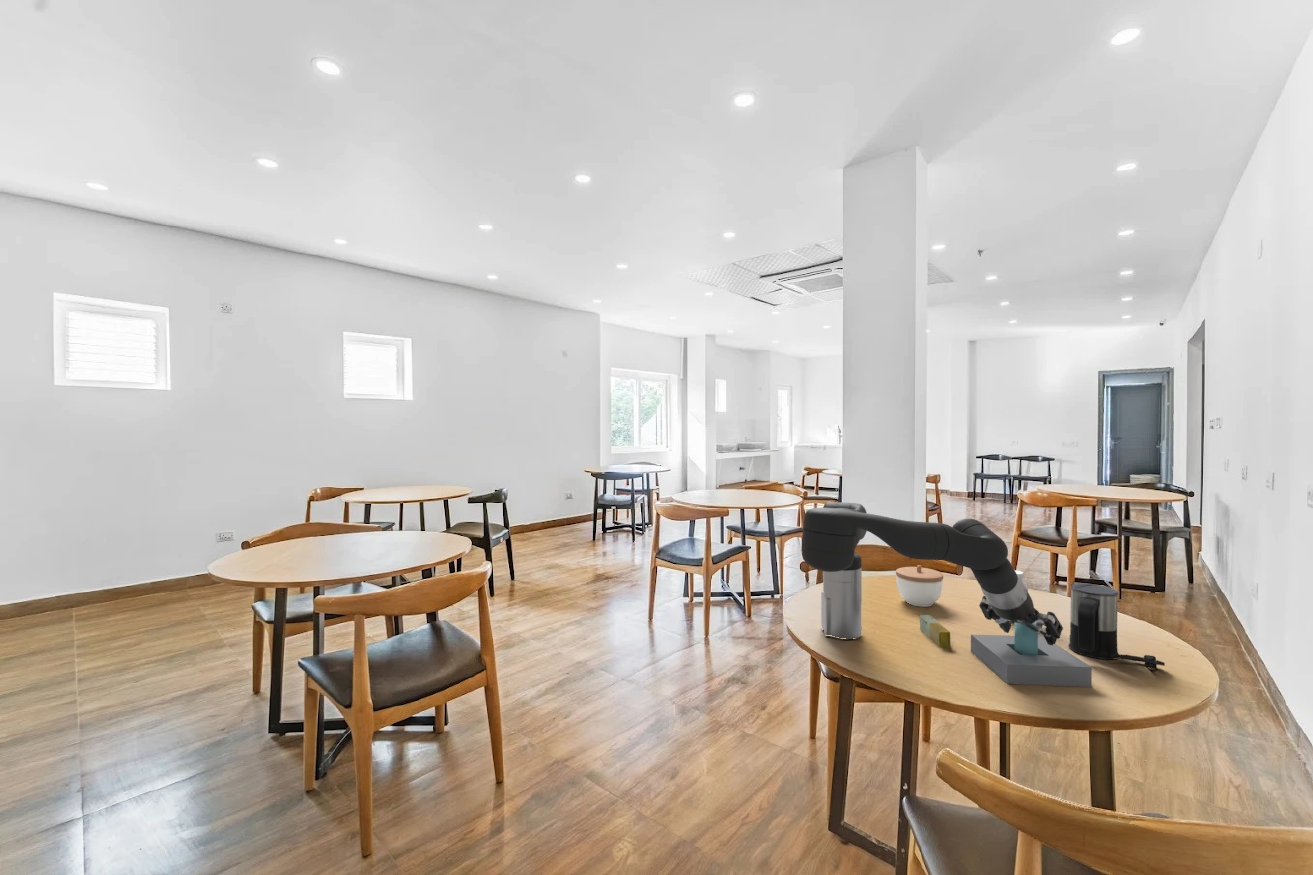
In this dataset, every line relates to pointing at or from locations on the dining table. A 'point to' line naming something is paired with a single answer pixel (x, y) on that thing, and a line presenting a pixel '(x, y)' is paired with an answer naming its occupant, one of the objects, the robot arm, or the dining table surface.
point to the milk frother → (1098, 624)
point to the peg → (1025, 640)
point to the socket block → (1031, 662)
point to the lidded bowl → (919, 585)
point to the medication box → (935, 630)
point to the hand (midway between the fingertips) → (1029, 635)
